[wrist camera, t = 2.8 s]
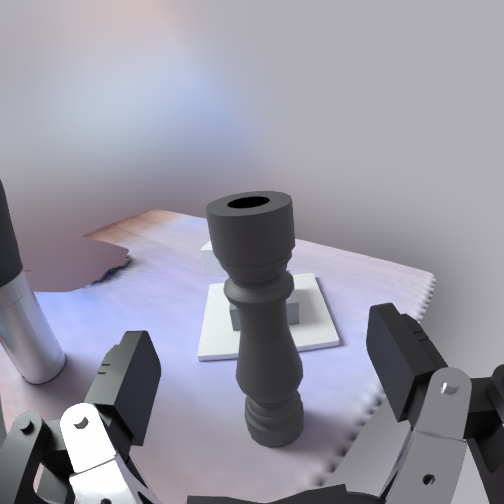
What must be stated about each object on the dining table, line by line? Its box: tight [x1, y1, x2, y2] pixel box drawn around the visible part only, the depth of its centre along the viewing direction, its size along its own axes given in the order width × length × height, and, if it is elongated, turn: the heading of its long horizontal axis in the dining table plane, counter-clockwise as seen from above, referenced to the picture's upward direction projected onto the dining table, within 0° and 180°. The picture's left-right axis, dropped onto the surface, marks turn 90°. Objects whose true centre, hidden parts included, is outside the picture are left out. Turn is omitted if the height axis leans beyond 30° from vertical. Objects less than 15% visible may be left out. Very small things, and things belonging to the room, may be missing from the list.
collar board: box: [197, 270, 339, 361], centre depth 49 cm, size 20×20×5 cm
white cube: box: [200, 240, 229, 277], centre depth 66 cm, size 6×6×6 cm
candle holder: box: [205, 191, 303, 447], centre depth 25 cm, size 6×6×25 cm
